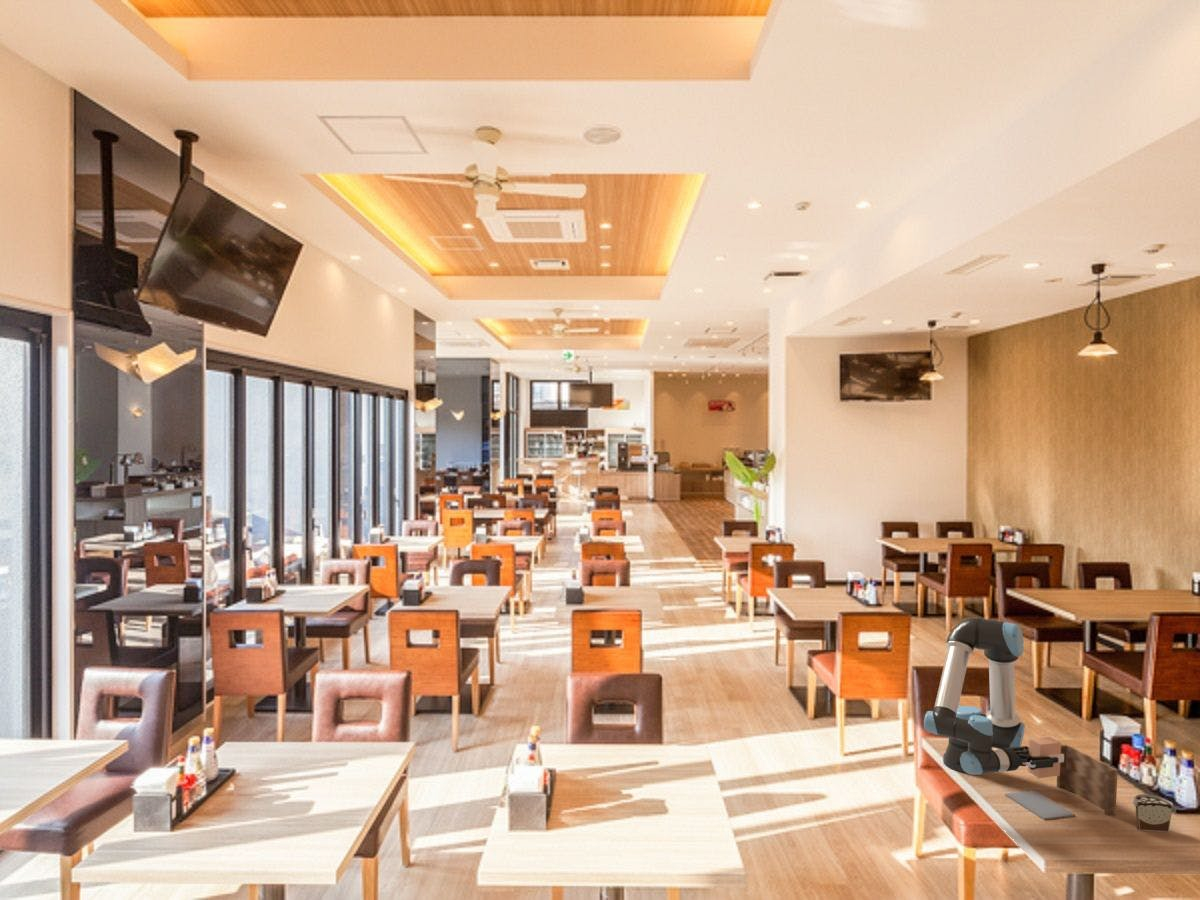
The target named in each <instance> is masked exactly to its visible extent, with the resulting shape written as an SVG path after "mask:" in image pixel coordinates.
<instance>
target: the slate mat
mask: <svg viewBox="0 0 1200 900" xmlns="http://www.w3.org/2000/svg"><path fill="white" fill-rule="evenodd" d="M1004 796H1005V797H1007V798H1009V799H1010V800H1012V801H1014V802H1015V803H1016V804H1018V805H1020V806H1021V807H1023V808H1024V809H1025V810H1027V809H1028V811H1029V812H1031V813H1032V814H1034V815H1035V814H1036V815H1035V816H1037V817H1038V818H1040V817H1041V818H1040V819H1042V820H1043V819H1047V820H1053V819H1054V818H1055V819H1061V818H1062V817H1064V818H1071V817H1075V816H1076V814H1075V813H1073V812H1071V811H1070V810H1068V809H1066V808H1065V807H1063V806H1061V805H1060V804H1058V803H1056V802H1055V801H1053V800H1051V799H1049V798H1048V797H1046V796H1045V795H1043V794H1041V793H1039V792H1038V791H1036V790H1028V791H1027V790H1026V791H1018V792H1009V793H1005V794H1004ZM1062 819H1063V818H1062Z"/></svg>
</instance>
